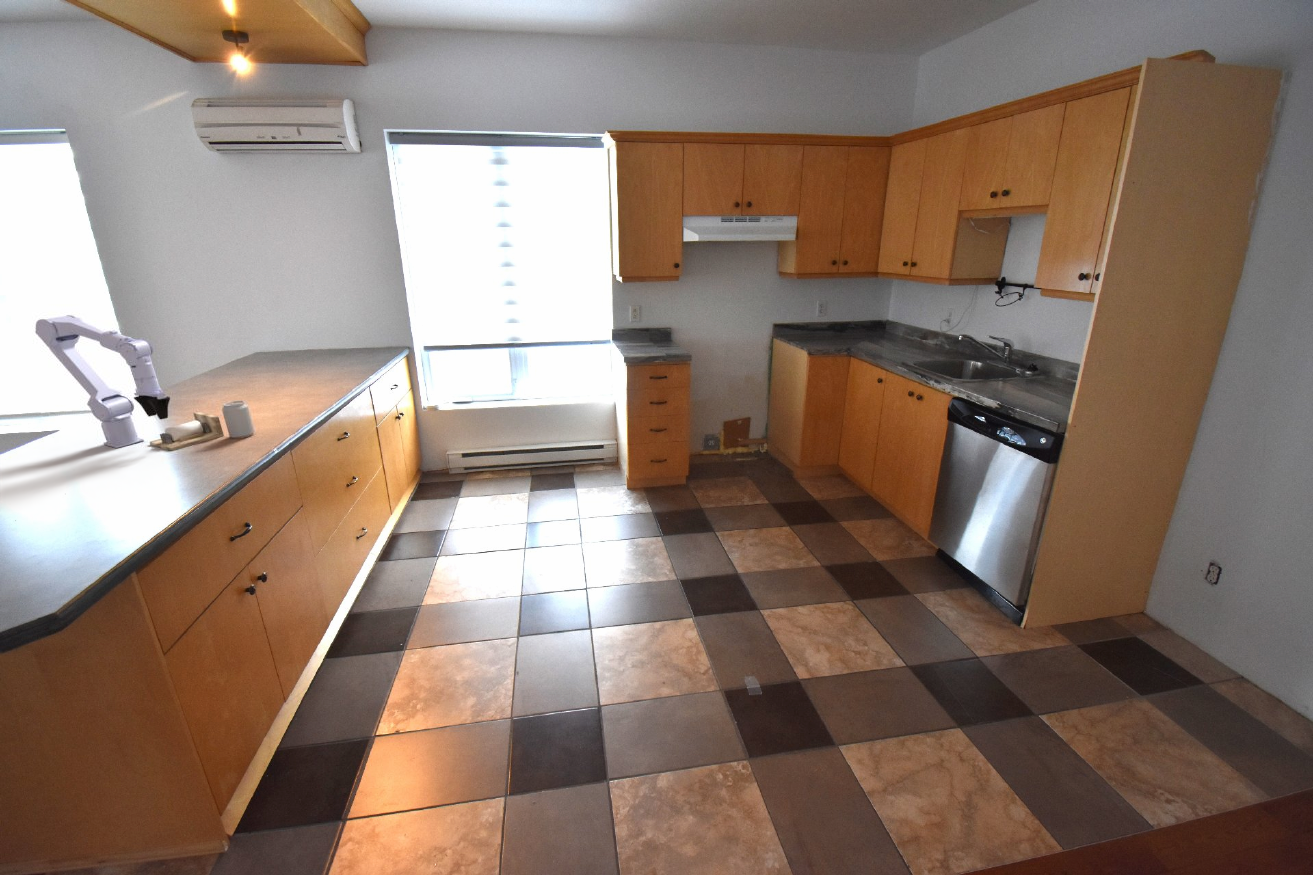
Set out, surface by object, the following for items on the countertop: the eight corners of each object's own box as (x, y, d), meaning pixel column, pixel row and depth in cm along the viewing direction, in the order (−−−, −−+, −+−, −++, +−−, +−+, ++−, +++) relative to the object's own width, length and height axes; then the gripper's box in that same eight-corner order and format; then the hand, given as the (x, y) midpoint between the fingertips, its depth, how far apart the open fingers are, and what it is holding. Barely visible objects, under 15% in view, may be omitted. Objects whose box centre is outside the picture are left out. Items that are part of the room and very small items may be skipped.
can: (242, 439, 204) (233, 406, 199) (224, 438, 205) (214, 405, 201) (260, 432, 210) (251, 400, 206) (242, 431, 212) (233, 399, 208)
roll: (167, 441, 201) (163, 427, 200) (196, 432, 209) (192, 419, 207) (175, 442, 199) (171, 429, 198) (204, 434, 207) (200, 421, 205)
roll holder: (150, 444, 201) (143, 425, 199) (202, 430, 214) (196, 411, 212) (171, 450, 195) (165, 430, 192) (224, 435, 208) (218, 416, 206)
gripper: (119, 378, 194) (133, 417, 198) (141, 382, 187) (155, 423, 192) (145, 373, 200) (157, 411, 204) (167, 377, 193) (179, 417, 198)
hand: (158, 417), depth 198 cm, fingers open, 7 cm apart
